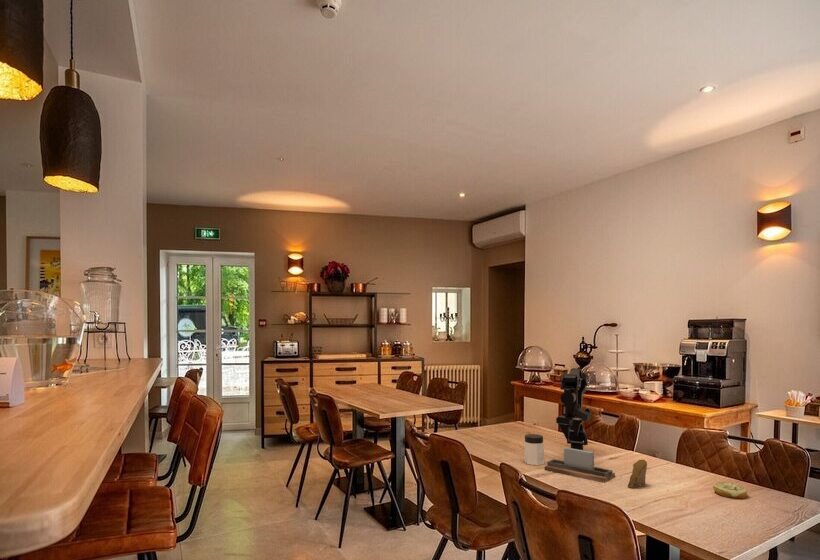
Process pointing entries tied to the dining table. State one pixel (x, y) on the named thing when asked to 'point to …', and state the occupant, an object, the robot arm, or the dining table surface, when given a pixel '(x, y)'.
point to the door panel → (579, 458)
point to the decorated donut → (730, 490)
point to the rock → (638, 474)
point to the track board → (580, 471)
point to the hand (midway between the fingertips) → (571, 437)
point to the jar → (534, 449)
